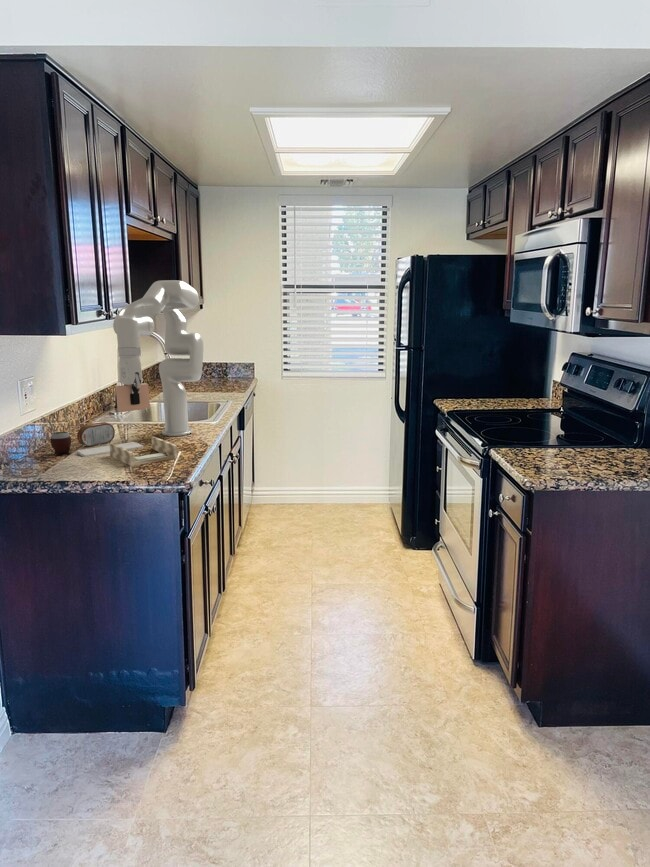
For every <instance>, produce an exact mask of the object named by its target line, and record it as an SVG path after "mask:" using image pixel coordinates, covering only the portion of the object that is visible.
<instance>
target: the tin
mask: <svg viewBox="0 0 650 867" xmlns="http://www.w3.org/2000/svg"><path fill="white" fill-rule="evenodd" d="M115 433H116V432H115V427H114V426H113V425H112V424H111V423H109V422H105V421H102V422H97V423H89V424H85V425H83V426H81V427H80V428H79V429H78V431H77V434H76V439H77V441H78V443H79V445H82V446H84V447H93V446H94V447H95V446H98V445H99V444H100V445H105V444H109V443H111V442H112V441H113V440H114V438H115ZM108 442H109V443H108ZM104 443H105V444H104ZM100 445H99V446H100Z"/></svg>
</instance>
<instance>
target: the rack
mask: <svg viewBox="0 0 650 867" xmlns="http://www.w3.org/2000/svg"><path fill="white" fill-rule="evenodd" d="M108 444H109V445H108V446H110V453H109V456H110V457H111V458H114V459H116V460H118V461H120V462H121V463H124V464H126V465H128V466H130V467H135V466H140V465H146V464H151V463H157V462H162V461H168V460H173V459H178V447H177V444H174V443H172V442H170V441H167V440H164V439H161V438H159V437H156V436H151V450H153V451H157V453H155V454H158V453H163V454H165V455H166V456H163V457H158V458H152V459H146V460H141V461H135V462H134V452H133V451H131V450H126V449H124V448H122V447H120V446H118V445H117V444H116V443H113V442H109V443H108ZM152 454H153V453H151V454H149V455H152ZM143 456H145V455H143Z"/></svg>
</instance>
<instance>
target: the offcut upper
mask: <svg viewBox="0 0 650 867" xmlns="http://www.w3.org/2000/svg"><path fill="white" fill-rule="evenodd" d="M157 453H158V454H156V453H151V454H152V455H150V454H146V455H145V456H144V455H140V456H135V457H134V456H133V457H134V461H141V460H146V459H152V458H158V457H163V456H167V455H165V454H163V453H161V452H157Z"/></svg>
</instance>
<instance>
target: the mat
mask: <svg viewBox="0 0 650 867" xmlns="http://www.w3.org/2000/svg"><path fill="white" fill-rule="evenodd" d="M116 445H118V446H120V447H122V448H124V449H126V450H129V451H131V450H136V449H143V448H144V445H143V444H140V443H138V442H136V441H132V442H125V443H118V444H116ZM76 454H77V455H79V456H81V457H83V458H88V457H95V456H100V455H107V454H110V446H109V445H106V446H105V445H104V446H99V447H94V448H93V447H92V448H86V449H79V450H76Z"/></svg>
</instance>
